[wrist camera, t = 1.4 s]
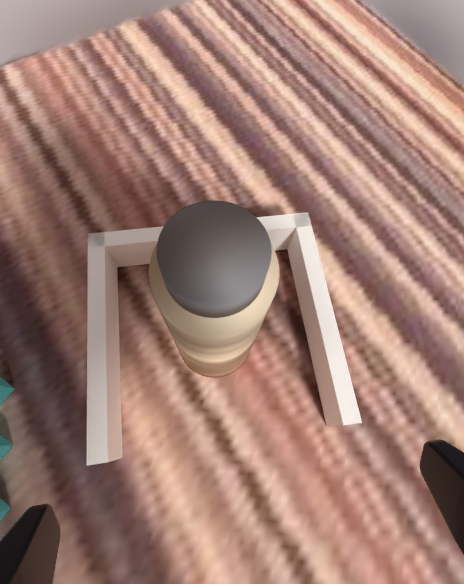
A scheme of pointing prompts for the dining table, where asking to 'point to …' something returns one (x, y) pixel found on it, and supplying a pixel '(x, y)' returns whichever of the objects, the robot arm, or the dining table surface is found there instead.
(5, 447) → the alien figure
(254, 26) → the dining table surface
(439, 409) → the dining table surface
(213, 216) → the pepper mill
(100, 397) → the u-shaped frame
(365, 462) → the dining table surface
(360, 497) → the dining table surface
